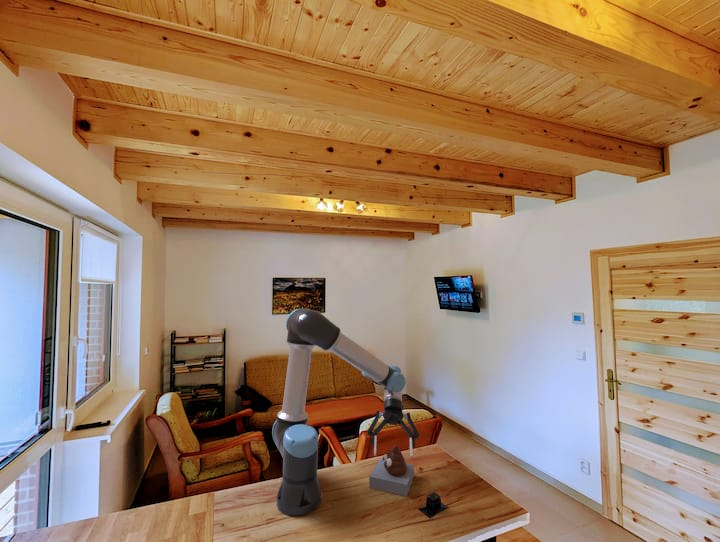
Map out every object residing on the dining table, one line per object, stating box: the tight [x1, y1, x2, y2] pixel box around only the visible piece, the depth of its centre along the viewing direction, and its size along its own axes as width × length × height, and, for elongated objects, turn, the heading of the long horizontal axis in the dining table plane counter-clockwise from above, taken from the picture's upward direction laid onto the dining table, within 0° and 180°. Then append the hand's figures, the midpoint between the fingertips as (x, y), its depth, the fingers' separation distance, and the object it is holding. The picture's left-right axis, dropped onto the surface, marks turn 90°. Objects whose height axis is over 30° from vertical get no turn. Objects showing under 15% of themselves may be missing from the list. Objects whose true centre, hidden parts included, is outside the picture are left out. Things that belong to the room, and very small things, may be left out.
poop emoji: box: [382, 445, 407, 476], centre depth 127 cm, size 10×8×9 cm
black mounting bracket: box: [417, 491, 450, 519], centre depth 111 cm, size 12×7×5 cm, turn 125°
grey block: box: [368, 457, 415, 497], centre depth 126 cm, size 14×14×4 cm
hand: (393, 456), depth 124 cm, fingers open, 13 cm apart
